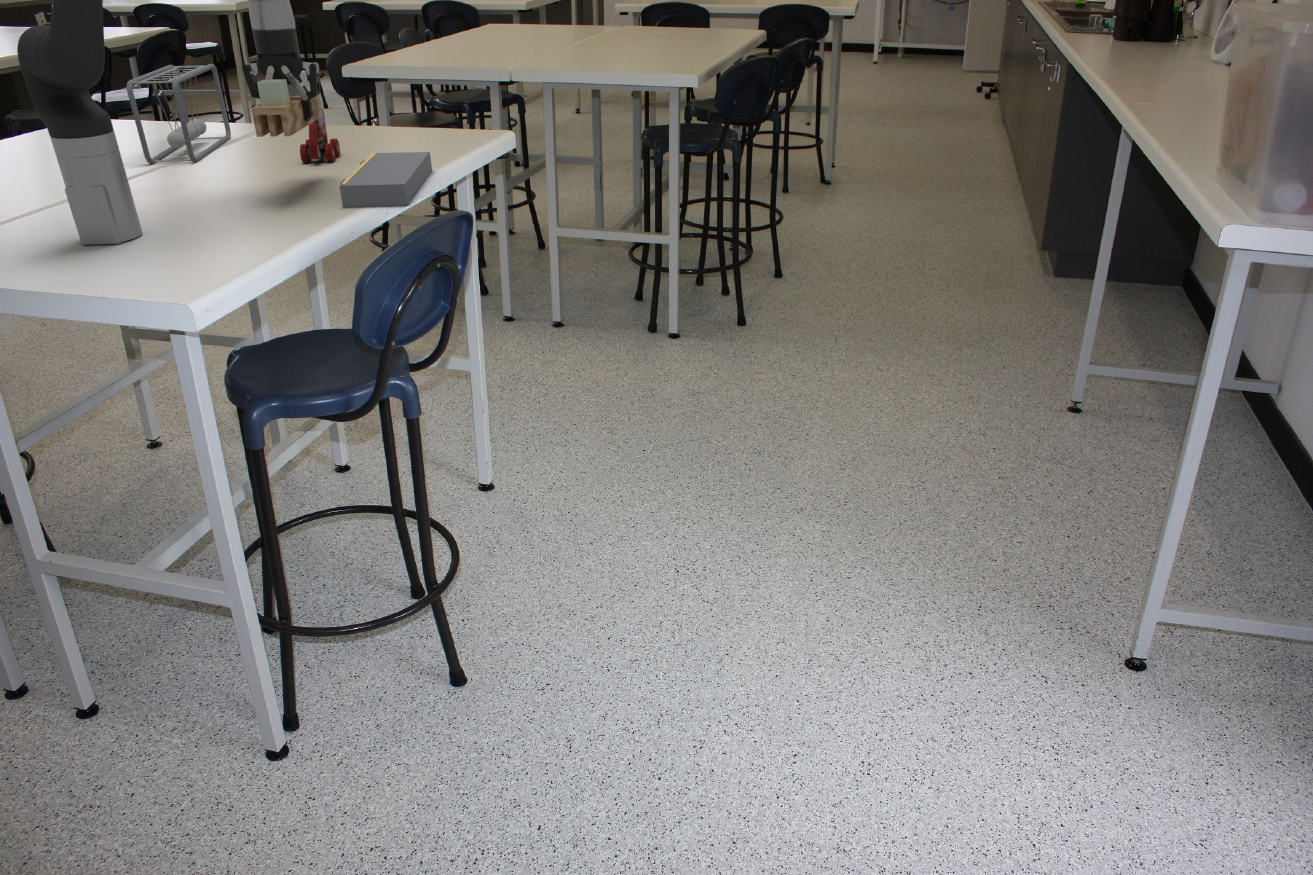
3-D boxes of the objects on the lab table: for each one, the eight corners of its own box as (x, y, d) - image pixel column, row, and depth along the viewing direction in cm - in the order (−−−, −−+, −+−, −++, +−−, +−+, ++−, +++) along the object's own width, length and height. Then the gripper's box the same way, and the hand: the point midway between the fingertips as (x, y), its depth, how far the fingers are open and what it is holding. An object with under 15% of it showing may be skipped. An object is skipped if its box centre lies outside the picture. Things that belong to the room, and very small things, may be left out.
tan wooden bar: (290, 136, 173) (284, 107, 170) (256, 136, 172) (251, 108, 170) (322, 116, 192) (318, 90, 190) (292, 117, 192) (288, 91, 190)
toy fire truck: (299, 167, 207) (290, 117, 202) (312, 154, 218) (303, 107, 213) (332, 165, 208) (323, 116, 203) (343, 153, 219) (335, 106, 214)
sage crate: (283, 105, 173) (279, 82, 171) (261, 105, 173) (256, 82, 171) (290, 102, 176) (286, 79, 174) (268, 102, 176) (264, 79, 174)
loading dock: (407, 205, 177) (404, 183, 175) (337, 207, 177) (333, 184, 175) (432, 171, 202) (429, 151, 199) (370, 172, 201) (367, 152, 199)
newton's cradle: (195, 164, 211) (174, 80, 202) (146, 166, 210) (123, 82, 201) (232, 138, 237) (216, 62, 228) (189, 139, 236) (170, 63, 227)
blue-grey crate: (303, 95, 184) (299, 73, 182) (282, 95, 184) (278, 73, 182) (309, 92, 187) (305, 71, 186) (288, 92, 187) (285, 71, 185)
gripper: (226, 28, 170) (246, 125, 178) (307, 27, 171) (323, 123, 179) (240, 25, 177) (259, 118, 185) (318, 24, 178) (333, 117, 185)
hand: (290, 120), depth 182 cm, fingers closed on tan wooden bar, 6 cm apart
